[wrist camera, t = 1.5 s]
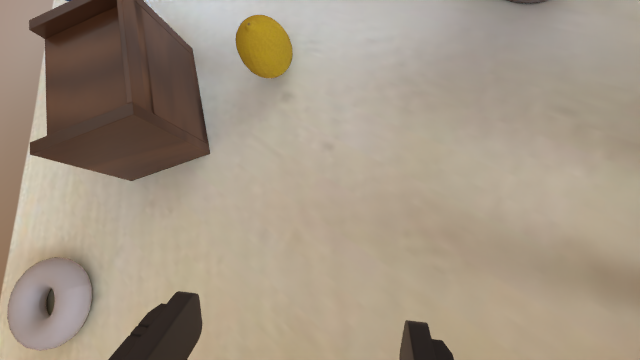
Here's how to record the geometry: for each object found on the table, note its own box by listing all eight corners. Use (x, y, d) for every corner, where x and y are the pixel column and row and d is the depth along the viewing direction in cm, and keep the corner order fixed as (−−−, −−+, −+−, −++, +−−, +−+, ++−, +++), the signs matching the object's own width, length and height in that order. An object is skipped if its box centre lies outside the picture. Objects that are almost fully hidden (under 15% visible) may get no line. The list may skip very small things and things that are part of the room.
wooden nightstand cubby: (121, 77, 44) (28, 20, 33) (192, 48, 42) (119, -23, 31) (131, 181, 40) (29, 154, 29) (210, 153, 38) (133, 114, 27)
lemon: (248, 79, 39) (212, 37, 31) (272, 41, 39) (242, -9, 31) (285, 97, 37) (255, 58, 29) (309, 57, 37) (287, 8, 30)
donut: (22, 293, 40) (49, 365, 37) (-12, 296, 37) (15, 375, 34) (79, 240, 40) (112, 307, 36) (50, 238, 37) (84, 313, 33)
